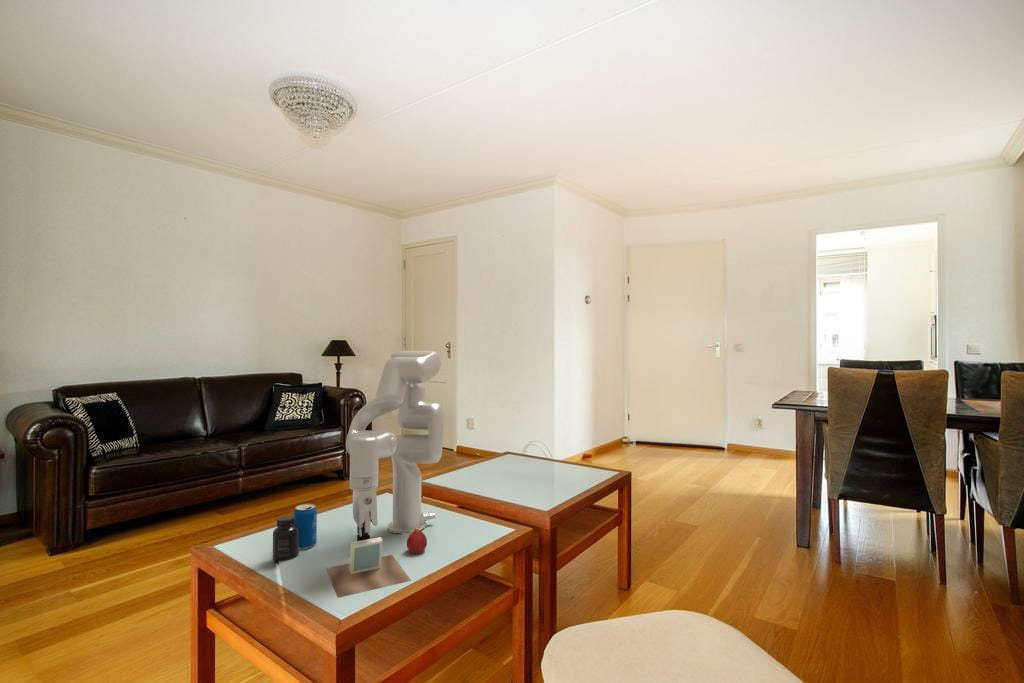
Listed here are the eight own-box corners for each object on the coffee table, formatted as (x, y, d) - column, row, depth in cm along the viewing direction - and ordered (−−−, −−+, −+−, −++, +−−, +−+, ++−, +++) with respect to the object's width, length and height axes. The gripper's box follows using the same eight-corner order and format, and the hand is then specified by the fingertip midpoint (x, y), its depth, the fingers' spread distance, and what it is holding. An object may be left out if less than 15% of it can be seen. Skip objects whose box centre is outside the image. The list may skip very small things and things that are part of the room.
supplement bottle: (304, 556, 142) (304, 515, 142) (286, 566, 135) (286, 523, 135) (285, 553, 144) (285, 512, 144) (266, 563, 137) (267, 520, 138)
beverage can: (308, 551, 146) (308, 510, 146) (288, 549, 147) (289, 509, 147) (320, 542, 152) (321, 504, 152) (302, 541, 153) (302, 502, 153)
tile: (379, 563, 134) (380, 536, 132) (381, 568, 132) (382, 541, 130) (348, 569, 130) (350, 542, 128) (350, 575, 128) (352, 547, 126)
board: (392, 558, 140) (392, 554, 140) (411, 585, 125) (411, 580, 125) (326, 572, 132) (326, 568, 132) (337, 602, 116) (337, 597, 116)
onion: (409, 551, 146) (409, 524, 146) (428, 551, 146) (428, 524, 146) (404, 559, 140) (404, 531, 140) (424, 559, 140) (424, 531, 140)
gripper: (384, 486, 128) (384, 556, 128) (371, 473, 141) (371, 537, 141) (355, 490, 124) (354, 562, 124) (344, 477, 137) (344, 542, 137)
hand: (363, 549), depth 132 cm, fingers closed
